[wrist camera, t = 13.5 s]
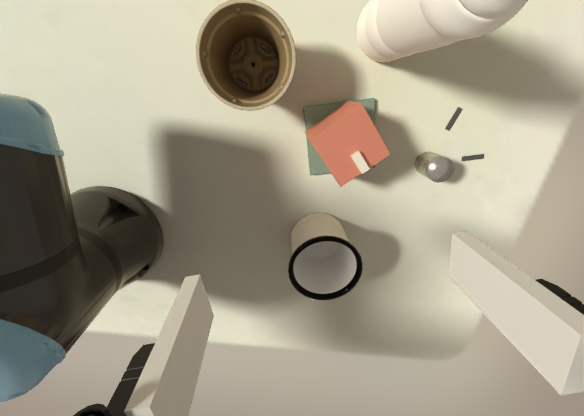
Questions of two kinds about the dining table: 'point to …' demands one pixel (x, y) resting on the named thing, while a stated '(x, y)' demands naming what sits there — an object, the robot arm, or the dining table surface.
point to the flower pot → (245, 54)
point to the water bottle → (427, 24)
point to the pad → (314, 116)
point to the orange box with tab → (347, 142)
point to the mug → (322, 258)
